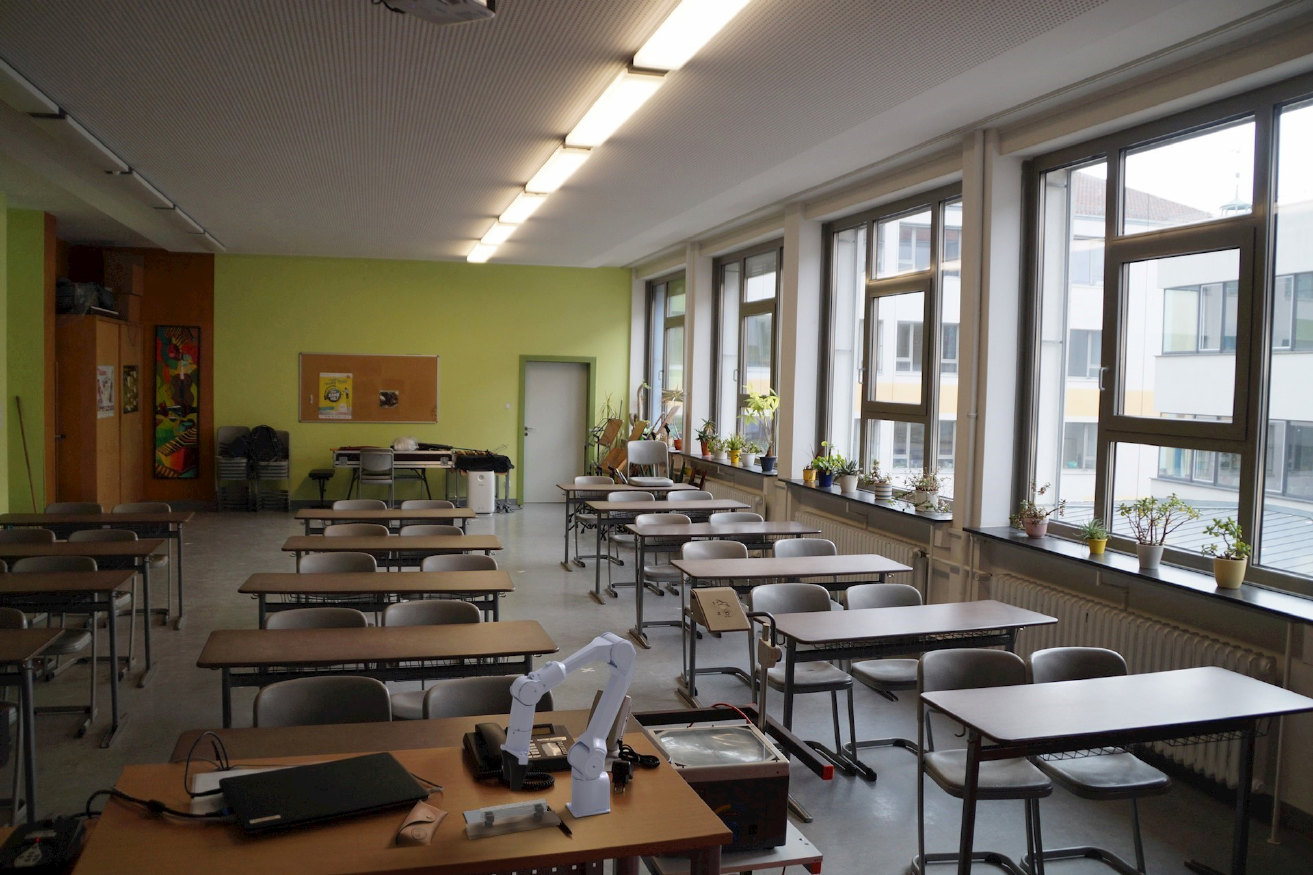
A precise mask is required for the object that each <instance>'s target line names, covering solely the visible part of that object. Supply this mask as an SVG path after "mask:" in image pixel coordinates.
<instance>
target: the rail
mask: <svg viewBox="0 0 1313 875" xmlns="http://www.w3.org/2000/svg"><path fill="white" fill-rule="evenodd" d="M537 799H538V800H536V799H532V800H526V801H519V802H513V803H505V804H499V805H492V806H484V807H485V808H483V807H480V808H479V818H480V820H481V821H487V815H489V814H494V819H500V818H506V817H512V816H519V815H525V814H532V813H536V807H541V806H543V807H544V811H547V809H548V801H547V799H546V798H537Z"/></svg>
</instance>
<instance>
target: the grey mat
mask: <svg viewBox="0 0 1313 875" xmlns="http://www.w3.org/2000/svg"><path fill="white" fill-rule="evenodd" d="M544 812H547V811H544ZM463 814H464V818H465V820H466V824H470V823H477V822H483V821H481V820H480V818H479V809H478V808H477V809H473V810H466V811H463ZM532 814H534V813H532ZM525 815H528V814H525ZM519 816H521V815H519ZM512 817H515V816H512ZM506 818H509V817H506ZM500 819H502V818H500ZM494 820H496V819H494Z"/></svg>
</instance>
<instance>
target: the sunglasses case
mask: <svg viewBox="0 0 1313 875" xmlns="http://www.w3.org/2000/svg"><path fill="white" fill-rule="evenodd" d="M448 814H449V812H448V811H445V810H442V809H441V808H440V809H439V808H438V807H435V806H433V805H430V804H428V803H426V802H423V801H422V799H419V800H418V801H417V802H416V805H415V806H414V807H413V808H412V809H411V810H410V812H409V814H408V816H407V817H406V818H405V819H404V822H403V823H402V825H401V826H400V828H399V830H398V832H397V833H396V835H395V838H394V842H395V845H396V846H397V847H407V846H410V847H411V846H413V847H415V846H417V847H419V846H420V847H421V846H431V844H432V841H433V838H434V836H435V835H436V834H435V833H436V832H437V831H438V828H439V827H440V825H441V823H442V821H444V819H445V817H447V815H448Z"/></svg>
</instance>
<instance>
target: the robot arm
mask: <svg viewBox="0 0 1313 875" xmlns="http://www.w3.org/2000/svg"><path fill="white" fill-rule="evenodd" d="M636 656H637V652H636V650H635V647H634V645H633V643H632V642H631V641H630V640H627V639H624V638H622V637H620V636H618V635H616V634H615V633H613V632H609V631H608V632H604V633H602V634H601V635H600V636H597V637H594V639H593V640H592V641H591V642H590V643H588V644H587V645H585V646H584V647H582V648H580V649H579V650H578V651H576V652H574V653H573V654H571V655H570V656H568V657H566V658H565V659H564V660H562V661H557V660H553V661H551V660H548V661H547V662H545V665H544V666H542V667H541V668H538V669H537V670H535V671H530V672H528V675H521V676H518V677H517V678H515V680H514V681H513V683H512V684H511V686H509V687H510V688H509V692H510V694H511V696H512V702H511V708H510V715H509V720H508V727H507V734H506V740H505V743H504V744H500V748H499V751H500V754H501V758H502V768H503V769H502V770H503V771H502V772H503V779H504V780H510V782H509V784H510V785H509V786H510V791H511V792H520V791H521V788H522V786H523V785H524V781H525V779H526V776H527V774H528V772H529V771H530V770H531V769H532V767H533V763H532V761H529V753H530V752H531V746H530V745H531V738H532V732H533V726H534V719H535V718H534V717H535V712H536V704H538V703H539V702H540V700H541V699H542V696H543V695H544V694H546V693H547V692H549V691H551V690H553V689H554V688H557V687H558V686H559V685H561V684H563V683H564V682H566V680H567V676H568V675H569V674H571V673H573V672H575V671H577V670H580V669H581V668H583V667H585V666H587V665H589V664H591V663H593V662H595V661H597V662H603V663H606V665H607V667H608V668H609V671H610V676H609V677H608V680H607V683H606V685H605V687H604V690H603V692H602V694H601V695H600V696H601V697H600V699H599V701H598V703H597V706H596V708H595V711H594V712H593V715H592V717H591V720H590V721H589V724H588V726H587V728H586V731H585V732H584V733H581V734H580V735H579V736H578V737H577V739H576V740H575V742H574V744H572V745H571V746H570V748H569V749H568V751H567V757H566V758H567V762H568V763H569V765H570V766H571V774H570V776H571V782H570V783H571V784H570V787H571V788H570V795H571V796H570V802H566V803H565V806H566V807H567V809H568V811H570V814H571V815H572V816H573V818H580V817H588V816H594V815H601V814H605V813H611V811H612V810H611V808H610V806H611V783H610V776H609V775H608V774H609V773H607V771H606V770H604V769H605V765H606V763H605V761H606V756H607V754H608V750H607V744H606V741H607V738H608V736H609V734H610V731H611V729H612V727H613V724H614V722H615V720H616V717H617V715H618V713H619V711H620V709H621V707H622V703H623V702H624V699H625V697H626V694H627V692H628V691H629V687H630V685H631V683H632V680H633V678H634V675H635V659H636Z"/></svg>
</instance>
